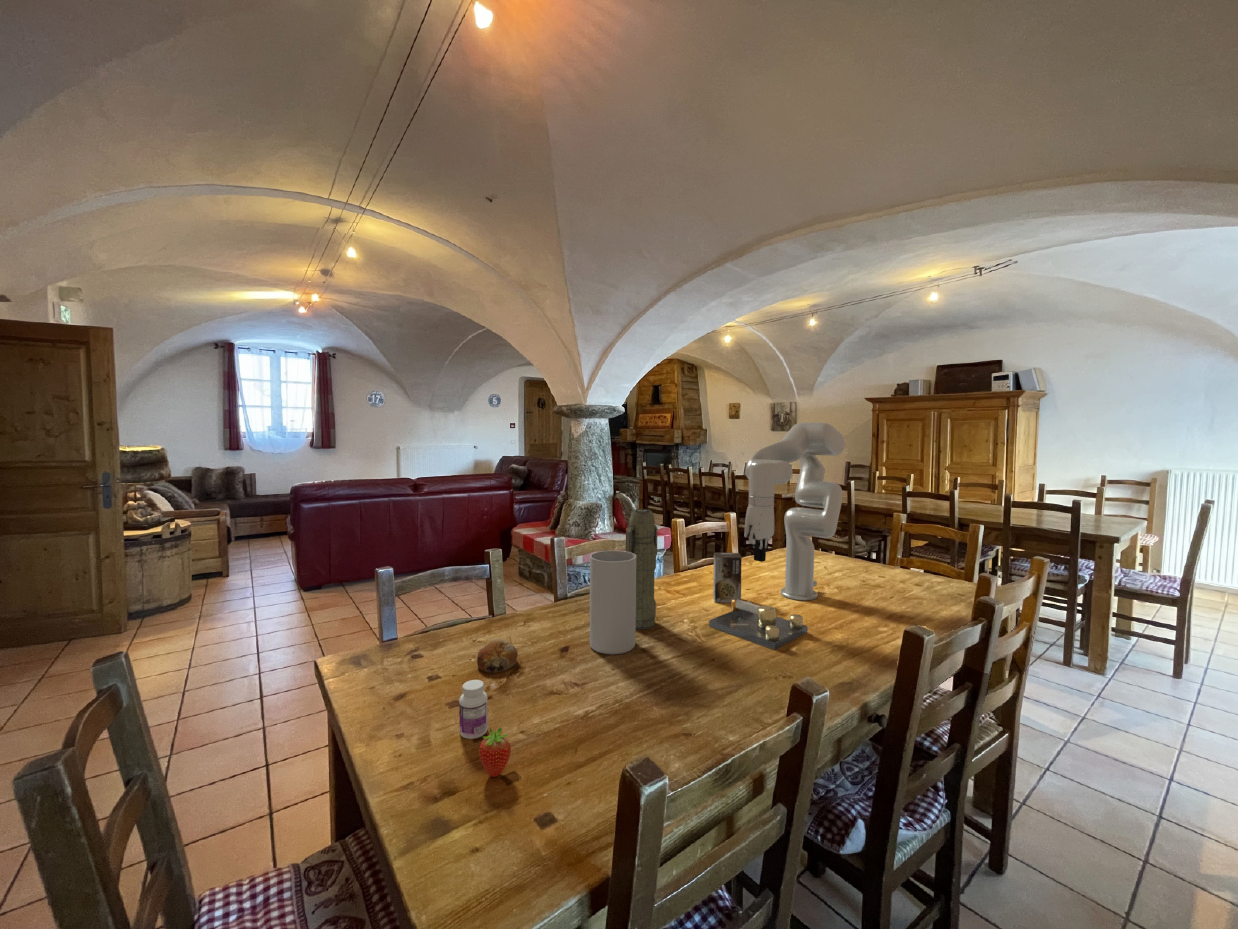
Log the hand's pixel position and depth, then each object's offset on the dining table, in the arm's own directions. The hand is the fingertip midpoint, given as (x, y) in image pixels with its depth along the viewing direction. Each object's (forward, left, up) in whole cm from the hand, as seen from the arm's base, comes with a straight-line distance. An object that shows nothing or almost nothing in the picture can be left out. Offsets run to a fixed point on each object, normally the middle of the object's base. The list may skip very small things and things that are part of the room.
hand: (759, 560), depth 160 cm
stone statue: (+29, -22, -19) cm, 41 cm away
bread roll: (+76, -27, -19) cm, 83 cm away
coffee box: (-9, -18, -19) cm, 28 cm away
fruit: (+96, +10, -19) cm, 99 cm away
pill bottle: (+93, -4, -19) cm, 95 cm away
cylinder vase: (+46, -16, -19) cm, 53 cm away
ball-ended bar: (+6, +2, -17) cm, 18 cm away
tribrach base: (+6, +4, -19) cm, 20 cm away
